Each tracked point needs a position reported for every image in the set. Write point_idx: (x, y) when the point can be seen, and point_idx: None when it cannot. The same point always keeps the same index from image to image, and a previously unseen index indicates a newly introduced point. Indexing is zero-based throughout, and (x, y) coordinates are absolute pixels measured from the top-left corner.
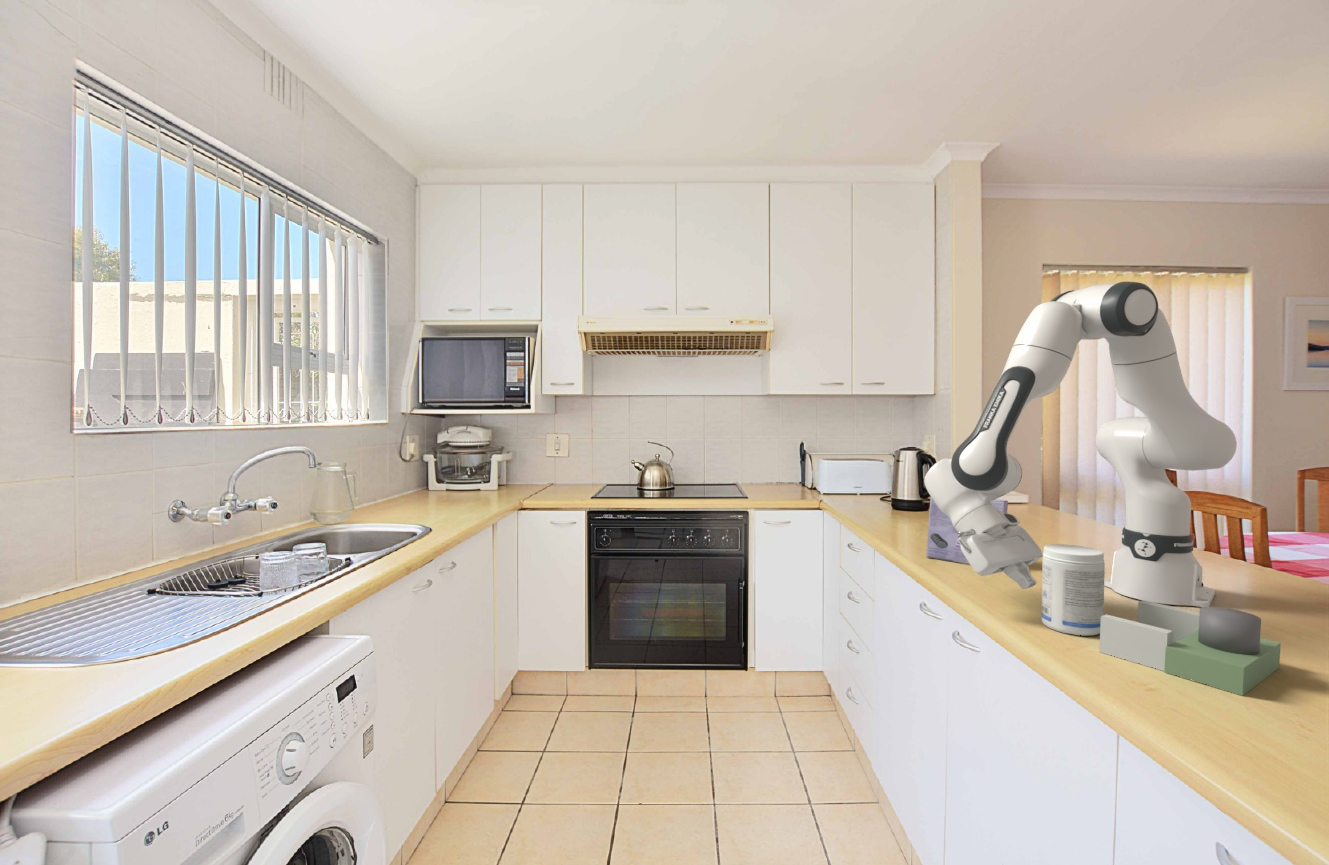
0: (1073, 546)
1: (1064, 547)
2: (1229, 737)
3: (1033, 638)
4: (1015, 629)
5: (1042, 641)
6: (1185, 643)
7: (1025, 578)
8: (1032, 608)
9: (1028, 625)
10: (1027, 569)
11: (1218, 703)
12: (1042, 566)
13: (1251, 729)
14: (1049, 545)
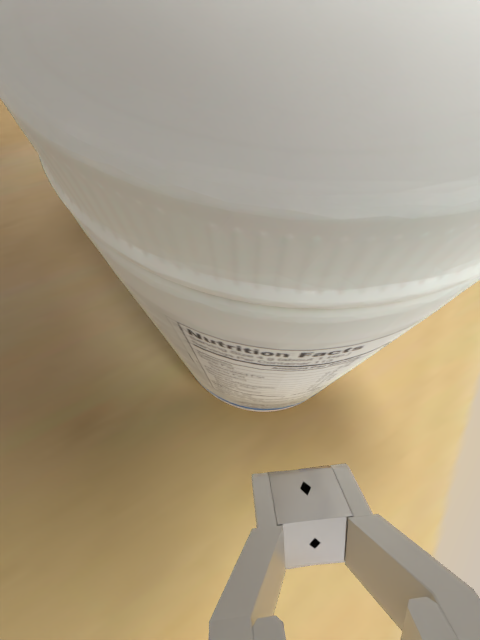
0: (102, 10)
1: (313, 10)
2: None
3: (452, 330)
4: (449, 401)
5: (443, 307)
6: None
7: (357, 502)
8: (164, 537)
9: (370, 407)
10: (258, 586)
11: None
12: (422, 320)
13: None
14: (421, 148)
